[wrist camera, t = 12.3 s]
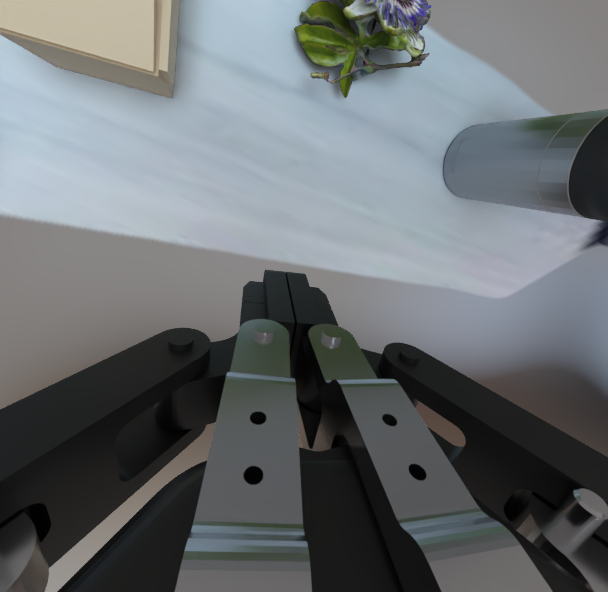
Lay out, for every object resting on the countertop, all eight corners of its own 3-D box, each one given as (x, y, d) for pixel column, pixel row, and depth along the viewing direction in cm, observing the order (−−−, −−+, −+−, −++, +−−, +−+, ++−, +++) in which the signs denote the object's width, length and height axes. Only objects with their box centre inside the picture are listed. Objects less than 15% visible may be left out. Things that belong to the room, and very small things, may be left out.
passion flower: (347, 20, 39) (452, -24, 32) (340, 119, 41) (437, 99, 34) (283, -45, 30) (407, -126, 23) (278, 84, 32) (390, 47, 25)
